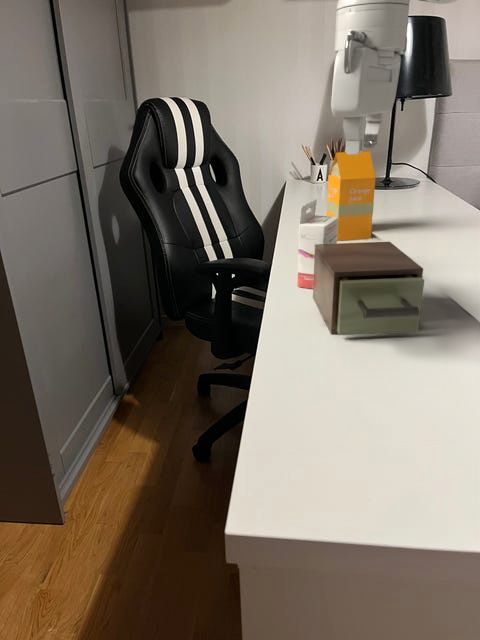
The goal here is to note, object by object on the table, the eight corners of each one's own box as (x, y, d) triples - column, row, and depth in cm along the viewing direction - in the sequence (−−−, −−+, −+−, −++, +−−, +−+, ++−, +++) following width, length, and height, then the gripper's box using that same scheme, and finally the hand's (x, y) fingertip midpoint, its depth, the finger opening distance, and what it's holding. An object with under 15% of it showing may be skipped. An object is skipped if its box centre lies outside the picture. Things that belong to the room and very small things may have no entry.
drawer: (430, 346, 67) (438, 292, 64) (346, 350, 67) (350, 295, 64) (387, 297, 84) (392, 252, 81) (320, 300, 83) (322, 255, 80)
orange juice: (325, 233, 127) (329, 151, 119) (357, 231, 129) (363, 149, 121) (337, 241, 120) (341, 154, 112) (371, 238, 122) (378, 152, 114)
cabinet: (415, 330, 74) (423, 268, 70) (330, 334, 73) (334, 272, 69) (384, 295, 87) (389, 241, 83) (312, 298, 87) (314, 244, 83)
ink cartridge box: (322, 291, 90) (326, 208, 84) (296, 287, 92) (298, 206, 86) (336, 276, 97) (340, 199, 91) (311, 273, 99) (314, 198, 93)
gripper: (376, 25, 54) (367, 159, 59) (409, 40, 70) (399, 144, 76) (320, 30, 56) (316, 158, 62) (364, 43, 73) (358, 143, 79)
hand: (362, 150), depth 69 cm, fingers open, 8 cm apart
